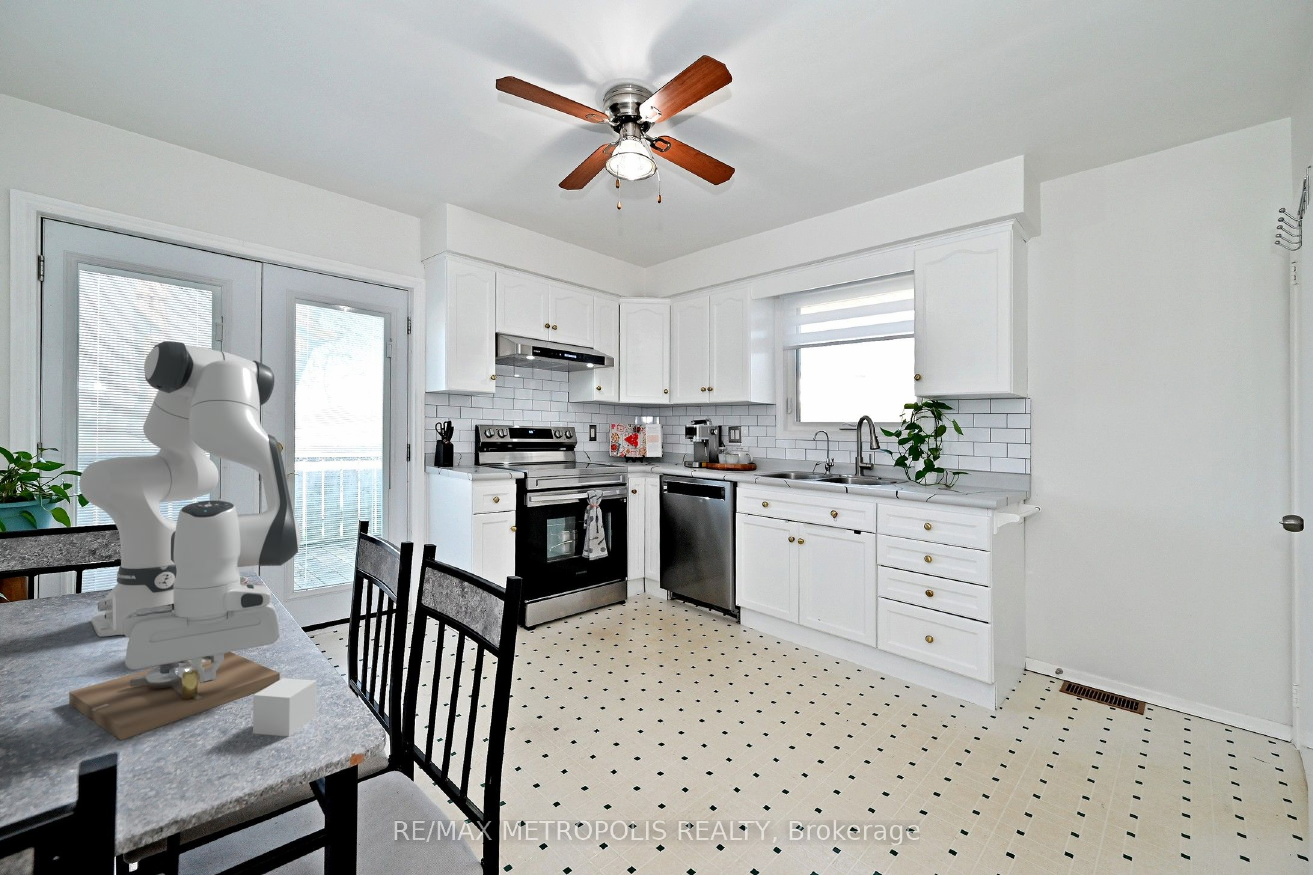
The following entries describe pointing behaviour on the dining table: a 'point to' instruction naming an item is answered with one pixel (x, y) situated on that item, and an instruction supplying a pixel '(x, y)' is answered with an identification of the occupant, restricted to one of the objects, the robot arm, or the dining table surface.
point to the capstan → (171, 679)
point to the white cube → (284, 707)
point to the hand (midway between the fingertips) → (207, 680)
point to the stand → (167, 696)
